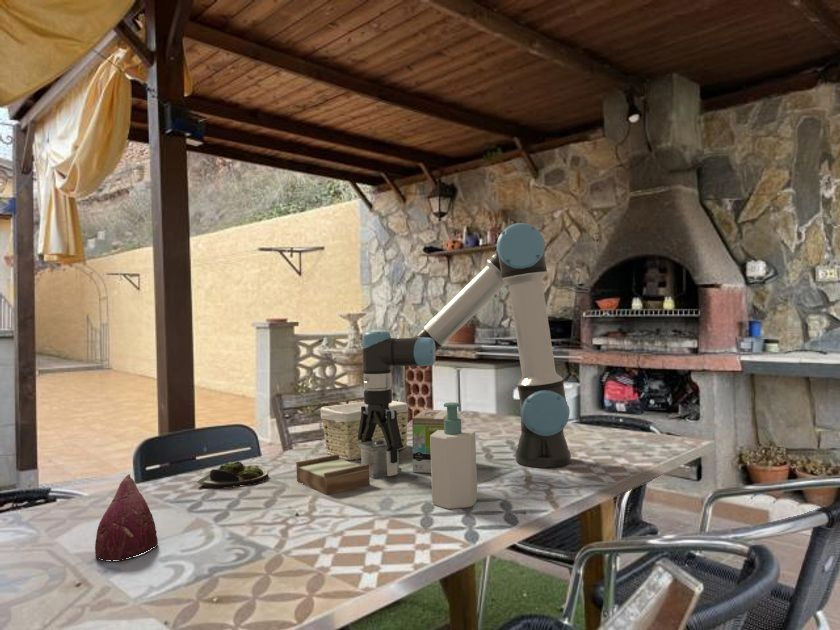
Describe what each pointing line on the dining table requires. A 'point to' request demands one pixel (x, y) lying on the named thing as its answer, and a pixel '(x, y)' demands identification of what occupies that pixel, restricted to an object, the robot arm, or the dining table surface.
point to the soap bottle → (453, 463)
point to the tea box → (425, 437)
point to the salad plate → (233, 475)
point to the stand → (332, 474)
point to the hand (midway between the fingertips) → (380, 470)
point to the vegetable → (126, 525)
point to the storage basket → (355, 428)
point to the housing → (376, 457)
